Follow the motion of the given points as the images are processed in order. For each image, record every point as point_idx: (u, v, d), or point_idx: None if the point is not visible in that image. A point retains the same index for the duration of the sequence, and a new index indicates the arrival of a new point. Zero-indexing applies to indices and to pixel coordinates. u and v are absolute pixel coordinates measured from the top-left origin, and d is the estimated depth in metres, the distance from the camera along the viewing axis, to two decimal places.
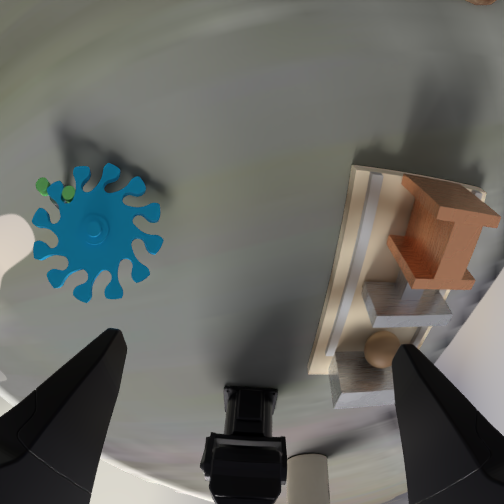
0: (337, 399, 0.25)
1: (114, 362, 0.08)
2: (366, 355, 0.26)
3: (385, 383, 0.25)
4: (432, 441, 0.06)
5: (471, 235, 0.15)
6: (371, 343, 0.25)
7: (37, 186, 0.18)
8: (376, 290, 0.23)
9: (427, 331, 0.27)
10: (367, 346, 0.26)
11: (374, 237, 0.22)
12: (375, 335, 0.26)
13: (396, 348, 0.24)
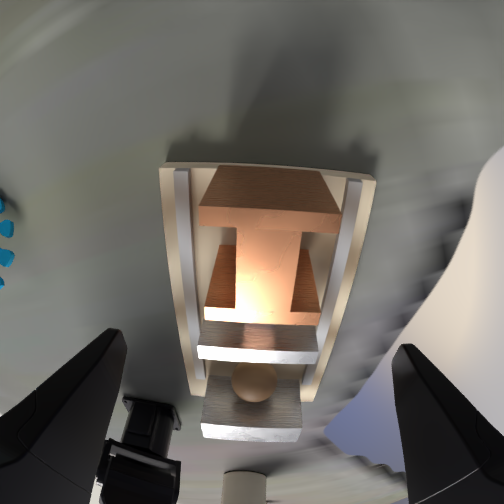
0: (202, 428, 0.22)
1: (114, 362, 0.08)
2: None
3: (259, 419, 0.22)
4: (432, 441, 0.06)
5: (281, 247, 0.12)
6: (235, 372, 0.22)
7: None
8: None
9: (324, 361, 0.24)
10: (232, 374, 0.23)
11: (204, 248, 0.19)
12: (242, 363, 0.23)
13: (264, 382, 0.21)
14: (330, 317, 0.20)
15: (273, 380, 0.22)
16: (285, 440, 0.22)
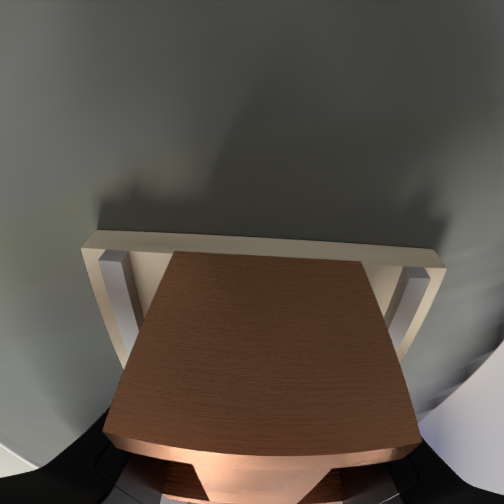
0: None
1: None
2: None
3: None
4: None
5: (286, 479, 0.05)
6: None
7: None
8: None
9: None
10: None
11: None
12: None
13: None
14: None
15: None
16: None
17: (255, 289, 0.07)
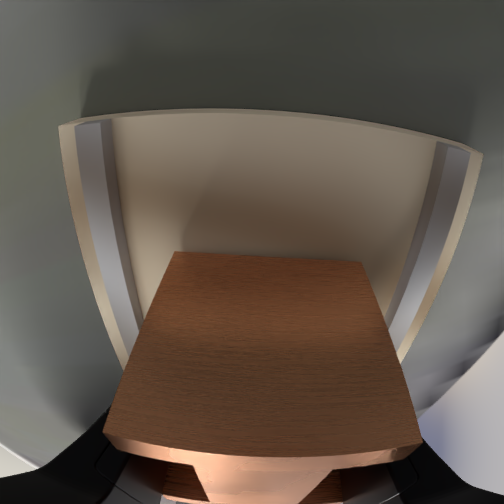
0: None
1: None
2: None
3: None
4: None
5: (287, 480, 0.05)
6: None
7: None
8: None
9: None
10: None
11: (151, 280, 0.09)
12: None
13: None
14: None
15: None
16: None
17: (255, 290, 0.07)
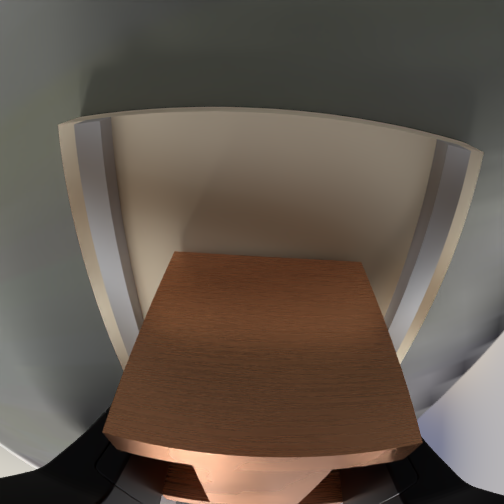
0: None
1: None
2: None
3: None
4: None
5: (286, 480, 0.05)
6: None
7: None
8: None
9: None
10: None
11: (151, 278, 0.09)
12: None
13: None
14: None
15: None
16: None
17: (255, 290, 0.07)
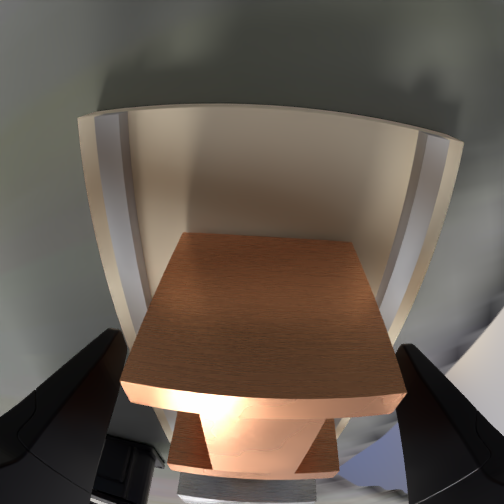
0: (181, 495, 0.14)
1: (114, 362, 0.08)
2: None
3: (257, 491, 0.14)
4: (432, 441, 0.06)
5: (285, 433, 0.06)
6: None
7: None
8: None
9: None
10: None
11: (160, 259, 0.10)
12: None
13: None
14: None
15: None
16: None
17: (256, 263, 0.08)
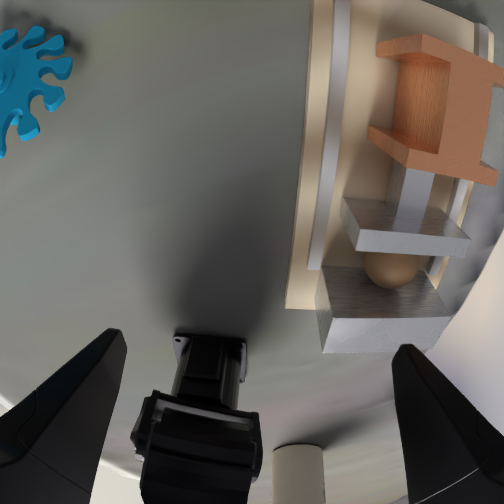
0: (327, 333, 0.17)
1: (114, 362, 0.08)
2: (367, 266, 0.17)
3: (403, 309, 0.17)
4: (432, 441, 0.06)
5: (479, 90, 0.08)
6: None
7: None
8: (359, 205, 0.16)
9: None
10: None
11: (356, 61, 0.13)
12: None
13: (413, 256, 0.16)
14: None
15: None
16: (423, 344, 0.17)
17: None
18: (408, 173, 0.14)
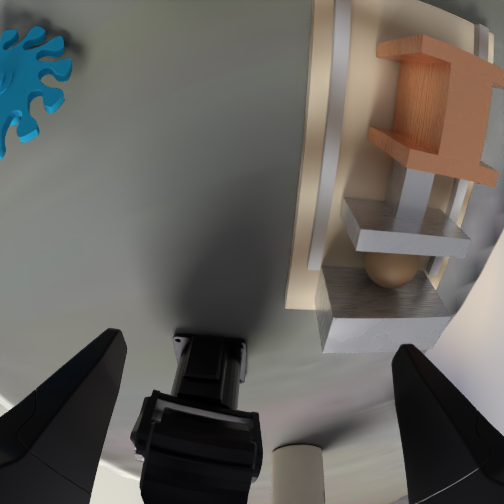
0: (327, 333, 0.17)
1: (114, 362, 0.08)
2: (367, 265, 0.17)
3: (403, 309, 0.17)
4: (432, 441, 0.06)
5: (480, 91, 0.09)
6: None
7: None
8: (359, 205, 0.16)
9: None
10: None
11: (356, 61, 0.13)
12: None
13: (413, 256, 0.16)
14: None
15: None
16: (423, 344, 0.17)
17: None
18: (408, 173, 0.14)
